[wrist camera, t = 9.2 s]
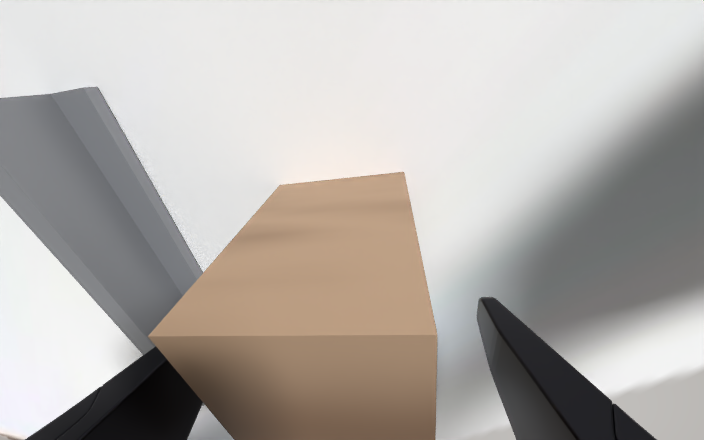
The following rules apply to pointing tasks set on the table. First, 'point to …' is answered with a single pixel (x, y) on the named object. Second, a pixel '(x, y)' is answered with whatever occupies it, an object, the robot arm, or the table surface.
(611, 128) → the table surface
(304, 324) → the tea box
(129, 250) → the rail
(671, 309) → the table surface
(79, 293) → the table surface
